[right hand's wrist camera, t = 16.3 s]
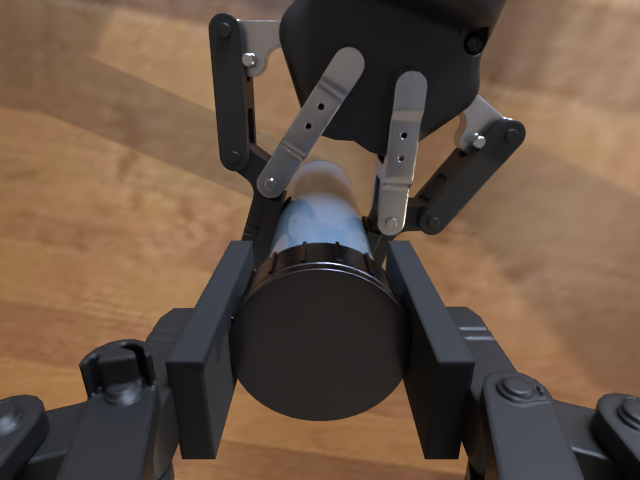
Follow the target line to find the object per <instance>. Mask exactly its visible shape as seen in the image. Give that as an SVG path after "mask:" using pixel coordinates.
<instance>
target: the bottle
mask: <svg viewBox="0 0 640 480" xmlns="http://www.w3.org/2000/svg"><path fill="white" fill-rule="evenodd" d="M303 241H307V243H333V244H335V242H336V241H337V242H339V244H340V245H343V246H347V247H350V248H353V249H355V250H358V251H360V252H362V253H363V254H365V252H367V253H369V256H370V258H371V259H373V260H374V258H373V255H372V252H371V248H370V245H369V241H368V238H367V235H366V231H365V228H364V225H363V221H362V218H361V215H360V211H359V208H358V204H357V201H356V198H355V194H354V191H353V188H352V184H351V181H350V179H349V177H348V175H347V174H346V173H345V172H344V171H343V170H342V169H341V168H340V167H339V166H337V165H335V164H333V163H330V162H326V161H314V162H310V163H308V164H305V165H303V166H302V167H300V168H299V169H298V170H297V171H296V172H295V174H294V175H293V177H292V178H291V180H290V182H289V185H288V189H287V194H286V197H285V201H284V204H283V207H282V211H281V214H280V217H279V220H278V222H277V226H276V229H275V232H274V236H273V239H272V242H271V246H270V249H269V253H268V256H267V259H266V260H268V259H269V258H270V257H272V254H273V252H275V251H276V252H277V253H279V252H281V251H283V250H285V249H288V248H290V247H293V246H297V245H301V244H303Z"/></svg>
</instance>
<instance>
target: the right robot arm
mask: <svg viewBox="0 0 640 480" xmlns="http://www.w3.org/2000/svg"><path fill="white" fill-rule="evenodd" d="M252 270H253V271H254V272H255V270H254V255H253V241H231V242H230V244H229V246H228V247H227V249H226V251H225V253H224V255H223V257H222V258H221V260H220V262H219V264H218V266H217V268H216V269H215V271H214V273H213V275H212V277H211V278H210V280H209V282H208V284H207V286H206V288H205V289H204V291H203V293H202V295H201V297H200V299H199V300H198V302H197V304H196V306H195V308H174V309H172V310H171V311H169V312H168V313H167V314H165V315H164V316H163V317H161V318H160V319H159V321H158V322H157V324H156V325H155V327H154V328H153V332H151V333H150V334H149V336H148V337H147V339H146V342H144V341H140V340H136V339H126V340H119V341H114V342H110V343H107V344H105V345H103V346H100V347H98V348H96V349H94V350H93V351H92V352H90V353H89V354H87V355H86V356H85V357H84V358H83V360H82V361H81V362H80V364H79V367H80V370H81V374H82V378H83V381H84V385H85V389H86V392H87V396H88V399H87V401H85V402H82V403H78V404H75V405H70V406H66V407H62V408H57V409H53V410H48V411H45V408H44V404H43V402H42V401H41V400H40V399H39V398H38V397H37V396H31V395H19V396H11V397H8V398H5V399H2V400H0V480H174V470H173V464H172V459H173V456H174V453H175V451H176V448H177V446H178V443H179V445H180V451H181V456H182V459H215V458H216V455H217V451H218V447H219V444H220V440H221V437H222V433H223V429H224V426H225V422H226V418H227V415H228V411H229V407H230V404H231V400H232V397H233V393H234V389H235V386H236V382H237V376H236V374H235V372H234V370H233V367H232V365H231V360H230V352H229V333H230V328H231V324H232V322H233V321H231V316H232V313H233V310H234V308H235V305H236V302H237V300H238V297H239V295H242V294H243V291H244V289H245V286H246V284H247V281H248V278H249V275H250V272H251V271H252ZM387 272H390V273H391V276H392V279H393V281H394V284H395V287H396V290H397V292H398V296H399V297H400V296H401V298H402V301H403V303H404V306H405V309H406V311H407V314H408V317H409V323H408V324H409V327H410V331H411V336H412V344H411V354H410V362H409V365H408V368H407V370H406V372H405V375H404V377H403V381H404V385H405V388H406V392H407V396H408V399H409V403H410V407H411V410H412V414H413V418H414V421H415V425H416V428H417V432H418V436H419V439H420V443H421V447H422V450H423V454H424V457H425V459H458V458H459V452H460V446H461V441H462V443H463V446H464V448H465V451H466V453H467V456H468V458H469V459H468V464H467V469H466V475H465V480H640V398H638V397H635V396H632V395H627V394H619V393H612V394H606V395H603V396H602V397H601V398H600V399H599V400H598V402H597V405H596V408H595V409H591V408H586V407H582V406H577V405H573V404H568V403H564V402H561V401H557V400H554V399H553V398H552V396H551V395H550V393H549V392H548V390H547V389H546V388H545V387H544V386H543V385H542V384H540V383H539V382H538V381H537V380H535V379H533V378H531V377H529V376H527V375H525V374H522V373H518V372H517V371H516V369H515V368H514V366H513V365H512V363H511V362H510V360H509V359H508V358H507V356H506V355H505V353H504V352H503V350H502V349H501V347H500V346H499V344H498V343H497V341H496V340H494V337H493V335H492V334H491V332H490V331H488V328H487V326H486V325H485V323H484V322H483V320H482V319H481V317H480V316H478V315H477V314H476V313H474V312H473V311H471V310H470V309H469V308H467V307H445V305H444V304H443V302H442V300H441V298H440V296H439V294H438V293H437V291H436V289H435V287H434V285H433V283H432V282H431V280H430V278H429V276H428V274H427V273H426V271H425V269H424V267H423V265H422V263H421V262H420V260H419V258H418V256H417V254H416V253H415V251H414V249H413V247H412V245H411V243H410V242H409V241H388V243H387V258H386V273H387Z"/></svg>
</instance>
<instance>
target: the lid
mask: <svg viewBox="0 0 640 480" xmlns="http://www.w3.org/2000/svg"><path fill="white" fill-rule="evenodd" d="M231 321H233V322H232V324H231V328H230V333H229V352H230V360H231V365H232V367H233V370H234V372H235V374H236V376H237V378H238V379H239V381H240V383H241V384H242V385H243V387H244V388H245V389H246V390H247V391H248V392H249V393H250V394H251V395H252V396H253V397H254V398H255V399H256V400H258V401H259V402H260V403H262V404H263V405H265V406H266V407H268V408H270V409H271V410H274V411H276V412H278V413H280V414H283V415H286V416H289V417H292V418H297V419H302V420H310V421H330V420H338V419H343V418H348V417H351V416H354V415H357V414H360V413H362V412H365V411H367V410H369V409H370V408H372V407H374V406H376V405H377V404H379V403H380V402H381V401H383V400H384V399H385V398H386V397H387V396H389V395H390V394H391V393H392V392H393V391H394V389H395V388H396V387H397V386H398V385H399V383H400V381H401V380H402V378H403V377H404V375H405V372H406V370H407V368H408V365H409V362H410V354H411V344H412V336H411V331H410V327H409V324H408V323H409V317H408V314H407V311H406V309H405V306H404V303H403V301H402V298H401V296H400V297H399V296H398V292H397V290H396V287H395V284H394V281H393V279H392V276H391V273H390V272H387V273H386V272H385V270H384V269H383V268H382V267H381V266H380V265H379V264H378V263H377V262H375V261H374V260H373V259H371V258H370V256H369V253H367V252H365V254H363V253H362V252H360V251H358V250H355V249H353V248H350V247H347V246H343V245H340V244H339V242H337V241H336V242H335V244H333V243H307V241H303V244H301V245H297V246H293V247H290V248H288V249H285V250H283V251H281V252H279V253H277V252H276V251H275V252H273V254H272V257H270V258H269V259H268V260H266V261H265V262H264V263H263V264H262V265H260V266H259V267H258V268H257V270H256V271H255V272H254V271H253V270H252V271H251V272H250V275H249V278H248V281H247V284H246V286H245V289H244V291H243V294H242V295H239V297H238V300H237V302H236V305H235V308H234V310H233V313H232V316H231Z"/></svg>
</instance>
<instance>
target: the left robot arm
mask: <svg viewBox="0 0 640 480" xmlns="http://www.w3.org/2000/svg"><path fill="white" fill-rule="evenodd" d="M505 2H506V0H295V2H294V3H293V4H292V5H291V6H290V7H289V8H288V9H287V10H286V11H285V13H284V15H283V17H282V19H281V20H237V19H236V18H234V17H233V16H231V15H230V14H227V13H219V14H217V15H215V16H214V17H213V18H212V19H211V21H210V24H209V39H210V50H211V62H212V73H213V84H214V96H215V107H216V118H217V130H218V141H219V152H220V160H221V162H222V164H223V166H224V167H225V168H227V169H228V170H231V171H236V172H238V173H239V174H240V175H242V176H243V177H244V178H246V179H247V180H248V181H249V182H250V183H251V185H252V187H253V190H254V196H253V200H252V204H251V208H250V211H249V215H248V218H247V222H246V225H245V229H244V233H243V236H242V240H241V241H253V255H254V269H256V270H257V268H258V267H259V266H260V265H262V264H263V263H264V262H265V261H266V259H267V256H268V252H269V249H270V246H271V242H272V239H273V236H274V232H275V229H276V226H277V222H278V220H279V217H280V214H281V211H282V207H283V204H284V201H285V197H286V194H287V191H285V190H284V189H285V187H286V186H287V184H288V183H289V181H290V180H291V178H292V177H293V175H294V174H295V172H296V171H297V169H298V168H299V166H300V165H301V163H302V162H303V160H304V159H305V158H306V157H307V155H308V154H309V152H310V151H311V149H312V148H313V146H314V145H315V143H316V142H317V140H318V139H319V137H320V136H321V135H322V136H325V137H328V138H331V139H334V140H348V141H355V142H356V143H358V144H359V145H361V146H362V147H364V148H365V149H367V150H368V151H369V152H372V153H375V161H374V172H375V176H374V186H373V197H372V207H371V211H370V213H369V216H368V217H365V216H363V217H362V221H363V225H364V228H365V231H366V235H367V238H368V241H369V245H370V248H371V252H372V255H373V258H374V261H375V262H377V263H378V264H379V265H380V266H382V264H383V262H384V260H385V257H386V255H387V243H388V241H393V239H394V238H395V237H396V236H397V235H398V234H400V233H402V232H405V231H423V232H424V233H426V234H428V235H435V234H438V233H440V232H441V231H442V230H443V229H444V228H445V227H446V226H447V225H448V224H449V223H450V222H451V220H452V219H453V218H454V217H455V216H456V215H457V214H458V213H459V212H460V211H461V209H462V208H463V207H464V206H465V205H466V204H467V203H468V202H469V201H470V200H471V198H472V197H473V196H474V195H475V194H476V193H477V192H478V191H479V190H480V189H481V187H482V186H483V185H484V184H485V183H486V182H487V181H488V180H489V179H490V178H491V177H492V175H493V174H494V173H495V172H496V171H497V170H498V169H499V168H500V167H501V166H502V164H503V163H504V162H505V161H506V160H507V159H508V158H509V157H510V156H511V155H512V153H513V152H514V151H515V150H516V149H517V148H518V147H519V146H520V145H521V143H522V142H523V141H524V138H525V134H526V131H525V127H524V125H523V124H522V123H521V122H519V121H516V120H512V119H510V118H505V117H503V116H502V115H501V114H500V113H499V112H498V111H496V110H495V109H494V108H493V107H492V106H491V105H490V104H488V103H487V102H486V101H485V100H484V99H483V98H482V97H481V96H479V95H478V90H479V85H480V78H479V66H480V60H481V55H482V52H483V50H484V48H485V46H486V44H487V42H488V40H489V38H490V36H491V34H492V31H493V29H494V27H495V25H496V22H497V20H498V18H499V15H500V13H501V11H502V8H503V6H504V4H505ZM277 48H282V50H283V53H284V56H285V60H286V63H287V66H288V69H289V72H290V75H291V78H292V82H293V85H294V88H295V91H296V94H297V97H298V100H299V104H300V107H301V110H300V112H299V113H298V115H297V117H296V118H295V120H294V121H293V123H292V125H291V126H290V128H289V129H288V131H287V133H286V134H285V136H284V137H283V139H282V141H281V142H280V144H279V145H278V147H277V149H276V150H275V152H274V153H273V155H272V156H270V155H269V154H268V153H266V152H265V151H264V150H263V149H261V148H260V147H259V146H257V145H256V127H255V108H254V90H253V77H258V76H260V75H262V74H263V73H264V72H265V71H266V69H267V66H268V59H269V56H270V54H271V53H272V52H273V51H274V50H275V49H277ZM458 114H459V116H460V124H459V127H458V129H457V131H456V132H455V134H454V143H455V146H456V149H455V150H454V151H453V152H452V153H451V154H450V156H449V157H448V158H447V159H446V160H445V161H444V163H443V164H442V165H441V166H440V167H439V169H438V170H437V171H436V172H435V173H434V174H433V176H432V177H431V178H430V179H429V180H428V181H427V183H426V184H425V185H424V186H423V187H422V188H421V190H420V191H419V192H418V193H417V194H416V195H415V197H414V198H408V193H409V188H410V186H411V185H412V182H413V177H414V169H415V162H416V155H417V147H418V142H419V141H421V140H422V139H424V138H425V137H427V136H428V135H429V134H431V133H432V132H434V131H435V130H437V129H438V128H440V127H441V126H442V125H444V124H445V123H447V122H448V121H450V120H451V119H453V118H454V117H456V116H457V115H458Z"/></svg>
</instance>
